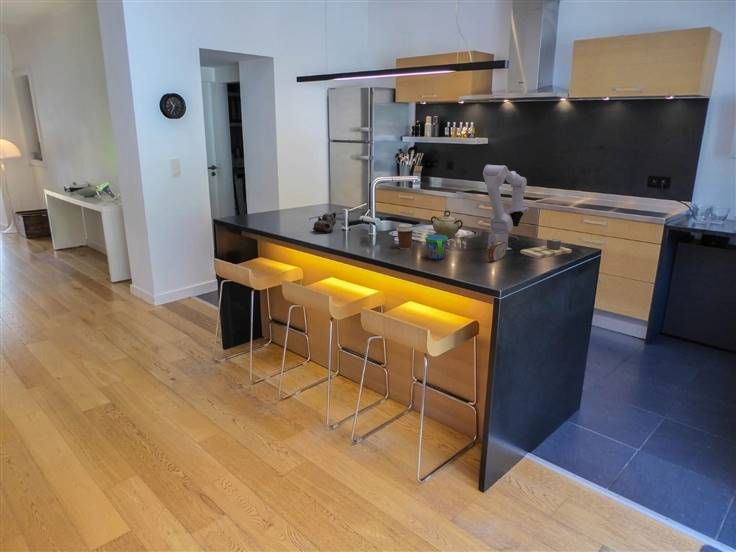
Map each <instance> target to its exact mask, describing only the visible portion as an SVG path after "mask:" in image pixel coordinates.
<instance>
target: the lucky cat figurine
mask: <svg viewBox="0 0 736 552" xmlns="http://www.w3.org/2000/svg"><path fill="white" fill-rule="evenodd" d="M317 219H318V220H317V221H315V222H314V224H313V227H312V230H313V231H315V232H319V231H321V232H325V233H326V232H327V233H330V234H332V233H333V232H334V227H335V225H336V224H337V216H336V212H335V211H334V212H329V211H328V212H325V213H324V214H323V215H322V217H321V216H318V217H317Z"/></svg>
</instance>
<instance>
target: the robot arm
mask: <svg viewBox="0 0 736 552" xmlns="http://www.w3.org/2000/svg"><path fill="white" fill-rule="evenodd" d="M482 175H483V176H482V177H483V179H484V183H485V185H486V190H487V194H488V198H489V202H490V205H491V209H492V213H493V215H492V216H491V217H490V220H489V221H490V226H489V227H490V229H491V230H492V232H491V233H490V234H489V235H488V240H487V247H486V249H487V250H489V248H490V246H491V245H492V244H493V243H495V242H498V241H504V242H506V244H507V247H506V251H510V250H512V248H511V247H509V234H510V232H512V230H513V227H519V224H520V221H521V219H522V217H523V216H524V212H529V211H530V210H529V207H527V206H525V207H524V197H525V196H524V193H525V192H526V187H527V183H528V181H527V178H526V177H525V176H520V174H518V173H517V171H515V170H511V171H510V170H509V169H508V166H506V165H498V164H495V165H494V164H486V165H485V166H484V168H483V172H482ZM505 182H507V183H508V184H510V187H511V188H512V192H511V205H510V208H506V209H505V207H504V203H503V200H502V196H501V191H500V188H499V187H501V186H503V184H504V183H505Z"/></svg>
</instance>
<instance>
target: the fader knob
mask: <svg viewBox="0 0 736 552" xmlns="http://www.w3.org/2000/svg"><path fill="white" fill-rule="evenodd" d="M561 243H562V240H558V239H555V238H550V239H547V240H546V246H547V247H546V248H549V249H553V250H556V249H560V247H561Z"/></svg>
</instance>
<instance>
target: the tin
mask: <svg viewBox="0 0 736 552" xmlns="http://www.w3.org/2000/svg"><path fill="white" fill-rule="evenodd" d="M506 247H507V244H506V242H504V241H498V242H495V243H493V244H492V245H491V246H490V248H489V249H488V253H487V259H488V261H490V262H491V261H492V262H497V261H499V260H501V259H503V258H504V257H505V256H506V253H507V250H506Z"/></svg>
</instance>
